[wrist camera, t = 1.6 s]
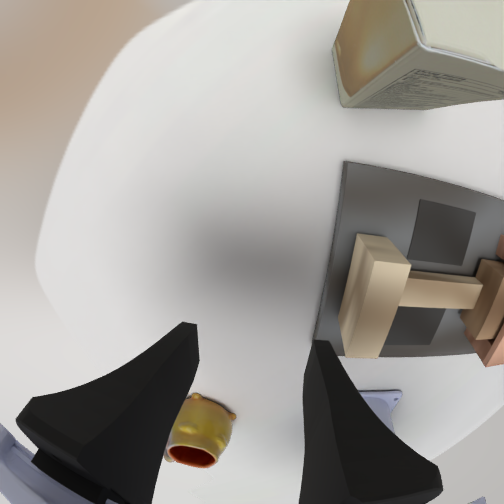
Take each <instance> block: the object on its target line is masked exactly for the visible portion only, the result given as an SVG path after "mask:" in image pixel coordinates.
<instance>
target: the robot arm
mask: <svg viewBox="0 0 504 504" xmlns="http://www.w3.org/2000/svg"><path fill="white" fill-rule="evenodd" d="M199 361H200V360H199V348H198V334H197V324H192V323H187V322H181V323H180V324H179V325H177V326H176V327H175V328H174V329H172V330H171V331H170V332H169V333H168V334H166V335H165V336H164V337H163V338H161V339H160V340H159V341H158V342H156V343H155V344H154V345H152V346H151V347H150V348H148V349H147V350H146V351H144V352H143V353H141V354H140V355H138V356H137V357H136V358H134V359H133V360H131V361H130V362H128V363H126V364H125V365H123V366H122V367H120V368H118V369H116V370H114V371H112V372H111V373H109V374H107V375H105V376H103V377H100V378H98V379H96V380H93V381H91V382H89V383H86V384H84V385H81V386H78V387H75V388H72V389H69V390H65V391H62V392H58V393H54V394H48V395H43V396H38V397H33V398H32V399H31V400H30V401H29V403H28V404H27V405H26V406H25V408H24V409H23V410H22V411H21V413H20V414H19V415H18V417H17V418H16V423H17V425H18V427H19V428H20V429H21V430H22V432H23V433H24V434H25V435H26V436H27V437H28V438H29V439H30V440H31V441H32V442H33V443H34V444H35V445H36V446H37V447H38V448H39V449H38V451H37V453H36V454H35V455H34V454H33V453H32V452H31V451H29V450H28V449H27V448H25V447H24V446H23V445H22V444H20V443H19V442H18V441H17V440H16V439H15V437H14V436H13V435H12V434H11V433H10V432H9V431H8V430H7V429H6V428H5V427H4V426H3V425H1V424H0V492H1V493H2V494H3V495H4V496H5V497H6V499H7V500H8V501H9V502H10V503H11V504H152V498H153V494H154V489H155V485H156V481H157V477H158V472H159V469H160V465H161V461H162V458H163V455H164V451H165V448H166V445H167V442H168V438H169V435H170V432H171V430H172V427H173V425H174V422H175V420H176V418H177V416H178V413H179V411H180V409H181V407H182V405H183V403H184V401H185V398H186V396H187V394H188V392H189V390H190V387H191V385H192V383H193V381H194V377H195V374H196V371H197V368H198V364H199ZM401 397H402V392H401V391H384V392H358V390H357V389H356V387H355V386H354V384H353V382H352V381H351V379H350V377H349V376H348V374H347V373H346V371H345V369H344V367H343V366H342V364H341V362H340V360H339V358H338V356H337V355H336V353H335V351H334V349H333V347H332V345H331V343H330V341H328V340H315V339H313V343H312V347H311V350H310V354H309V358H308V362H307V366H306V369H305V373H304V383H303V414H304V435H305V454H304V465H303V475H302V483H301V491H300V498H299V504H426V503H428V502H429V501H431V500H433V499H434V498H436V497H437V496H439V495H440V494H441V492H442V491H443V485H442V480H441V475H440V472H439V469H438V466H436V465H435V464H433V463H432V462H430V461H429V460H427V459H426V458H424V457H423V456H421V455H420V454H418V453H417V452H415V451H414V450H413V449H411V448H410V447H409V446H408V445H406V444H405V443H404V442H403V441H402V440H401V439H399V438H398V437H397V436H396V435H395V432H394V428H393V423H392V419H391V414H390V413H391V412H392V410H393V409H394V407H395V406H396V404H397V403H398V401H399V400H400V398H401ZM468 504H486V500H485V497H481V498H479V499H477V500H475V501H473V502H471V503H468Z"/></svg>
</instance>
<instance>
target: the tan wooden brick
mask: <svg viewBox="0 0 504 504" xmlns="http://www.w3.org/2000/svg"><path fill="white" fill-rule="evenodd" d="M410 268H411V264H410V263H409V262H408V260H407V259H406V258H405V257H404V256H403V255H402V253H401V252H400V251H399V250H398V249H397V248H396V247H395V245H394V244H393V243H392V242H391V241H390V240H389V239H388V238H387V237H381V236H374V235H366V234H359V233H357V236H356V241H355V246H354V251H353V256H352V261H351V265H350V270H349V275H348V279H347V283H346V287H345V292H344V296H343V300H342V304H341V308H340V311H339V315H338V321H339V326H340V330H341V336H342V341H343V346H344V351H345V357H346V358H374V359H377V358H378V356H379V354H380V352H381V349H382V347H383V345H384V342H385V340H386V337H387V335H388V332H389V330H390V327H391V325H392V322H393V319H394V317H395V314H396V311H397V308H398V306H408V307H427V308H452V309H463V310H462V312H461V315H460V319H461V320H462V321H463V323H464V324H465V326H466V327H467V328H468V330H469V331H470V333H471V334H472V335H473V337H474V338H475V340H483V339H496V338H497V336H498V334H499V332H500V330H501V328H502V326H503V324H504V262H498V261H492V260H486V259H481V262H480V265H479V268H478V271H477V274H476V277H466V276H457V275H447V274H438V273H429V272H419V271H410Z"/></svg>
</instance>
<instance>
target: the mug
mask: <svg viewBox="0 0 504 504" xmlns="http://www.w3.org/2000/svg"><path fill="white" fill-rule="evenodd" d="M234 419H236V415H235V414H234V413H231V412H228V411H226V410H225V409H224V408H223V407H222V406H220V405H219V404H217V403H215V402H213V401H210V400H208V399H205V398H203V397H202V396H201V395H200V394H198V393H193V394H192V396H191V398H188V399H185V401H184V403H183V405H182V407H181V409H180V411H179V413H178V416H177V418H176V420H175V422H174V425H173V427H172V430H171V432H170V435H169V438H168V442H167V445H166V448H165V451H164V458H165V460H166V461H168V462H174V461H176V462H177V463H182V464H185V465H188V466H193V467H198V468H209V467H211V466H213V465H215V464H216V463H217V462H218V459H219V457H220V456H221V454H222V453H223V451H224V450H225V449H226V447H227V446H228V444H229V441H230V438H231V434H232V421H233V420H234Z"/></svg>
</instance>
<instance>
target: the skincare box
mask: <svg viewBox="0 0 504 504" xmlns="http://www.w3.org/2000/svg"><path fill="white" fill-rule="evenodd" d="M332 52H333V58H334V65H335V71H336V77H337V83H338V89H339V95H340V101H341V105H342V106H343V107H344V108H377V109H409V110H429V109H434V108H440V107H446V106H452V105H458V104H465V103H473V102H481V101H491V100H501V99H504V0H350V2H349V4H348V7H347V10H346V12H345V15H344V18H343V21H342V23H341V26H340V29H339V32H338V35H337V37H336V40H335V43H334V45H333V48H332Z"/></svg>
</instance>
